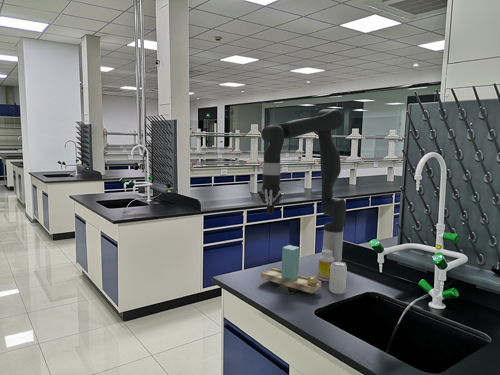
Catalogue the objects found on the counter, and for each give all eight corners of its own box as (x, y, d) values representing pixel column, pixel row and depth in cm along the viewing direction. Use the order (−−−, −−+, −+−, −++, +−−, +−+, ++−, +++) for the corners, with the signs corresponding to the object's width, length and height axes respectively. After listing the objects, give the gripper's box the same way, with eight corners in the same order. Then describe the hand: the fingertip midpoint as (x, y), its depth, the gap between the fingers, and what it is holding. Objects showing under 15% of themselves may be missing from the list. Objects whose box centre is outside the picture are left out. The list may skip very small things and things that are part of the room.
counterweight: (305, 285, 142) (306, 277, 142) (310, 282, 145) (310, 275, 145) (314, 287, 140) (314, 280, 140) (318, 284, 143) (318, 277, 143)
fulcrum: (275, 289, 147) (275, 284, 146) (289, 281, 155) (289, 276, 155) (290, 294, 143) (290, 288, 142) (303, 286, 151) (304, 280, 151)
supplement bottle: (329, 283, 155) (331, 254, 153) (315, 279, 159) (316, 251, 157) (335, 278, 160) (337, 250, 159) (322, 274, 164) (323, 247, 163)
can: (327, 292, 146) (328, 263, 144) (331, 286, 151) (333, 259, 150) (343, 296, 143) (345, 266, 141) (347, 290, 148) (348, 262, 147)
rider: (281, 278, 148) (282, 247, 146) (287, 274, 152) (288, 244, 150) (291, 281, 145) (293, 250, 143) (298, 277, 149) (299, 247, 147)
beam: (260, 278, 153) (260, 272, 152) (271, 272, 159) (271, 267, 159) (311, 293, 138) (312, 287, 138) (321, 287, 145) (321, 281, 144)
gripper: (289, 174, 152) (288, 214, 154) (263, 171, 159) (262, 210, 162) (280, 175, 146) (278, 217, 148) (253, 172, 153) (252, 212, 156)
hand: (270, 213), depth 155 cm, fingers closed
